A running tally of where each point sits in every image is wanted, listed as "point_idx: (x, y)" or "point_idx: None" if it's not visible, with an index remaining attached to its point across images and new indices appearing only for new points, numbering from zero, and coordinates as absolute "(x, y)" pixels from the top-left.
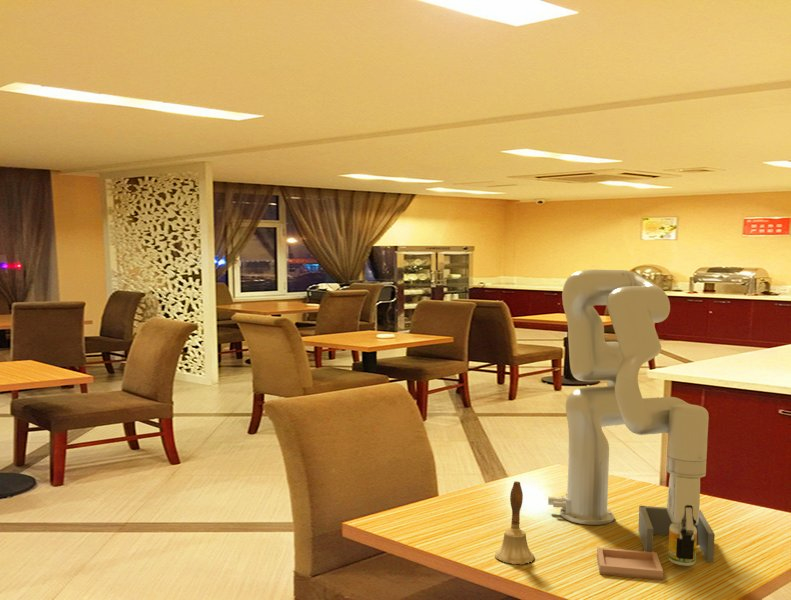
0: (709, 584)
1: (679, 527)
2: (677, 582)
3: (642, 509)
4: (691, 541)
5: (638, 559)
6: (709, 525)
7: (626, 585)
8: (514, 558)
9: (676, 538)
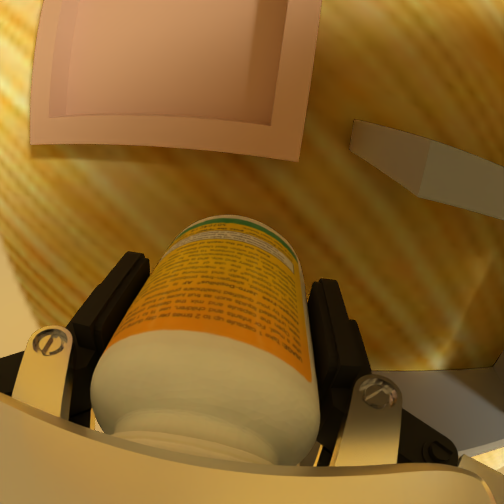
0: (75, 304)
1: (16, 398)
2: (52, 195)
3: None
4: None
5: (257, 45)
6: None
7: (9, 4)
8: None
9: (123, 322)
